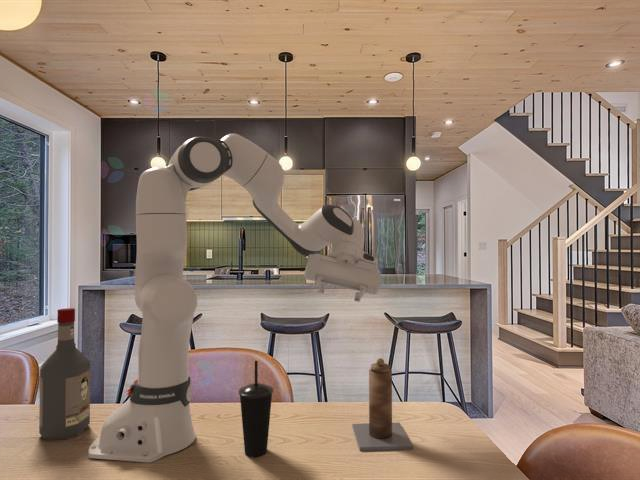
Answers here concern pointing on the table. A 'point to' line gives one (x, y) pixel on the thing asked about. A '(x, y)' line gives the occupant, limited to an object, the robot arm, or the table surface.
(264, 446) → the drinking cup
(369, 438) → the trivet
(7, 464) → the table surface
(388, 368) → the pepper mill
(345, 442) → the table surface
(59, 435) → the liquor
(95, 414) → the table surface
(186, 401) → the robot arm
